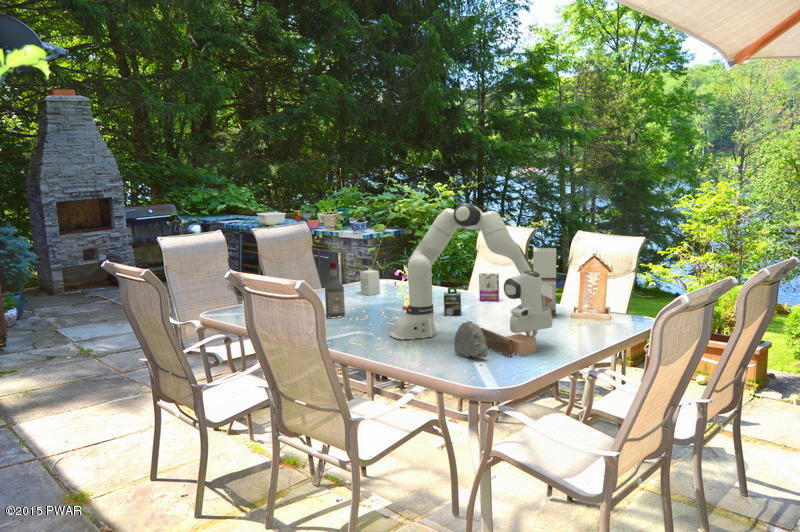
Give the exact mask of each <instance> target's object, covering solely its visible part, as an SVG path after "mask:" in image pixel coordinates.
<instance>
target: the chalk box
mask: <svg viewBox="0 0 800 532" xmlns="http://www.w3.org/2000/svg"><path fill="white" fill-rule="evenodd" d="M451 290H453V291H451ZM461 295H462V294H461V291H457V287H448V288H447V291H444V293H443V307H444V308H443V309H444V312H443V313H444V317H445V316H450V317H451V316H453V317H454V316H455V317H458V316H459V317H461V316H462V299H461V297H462V296H461Z"/></svg>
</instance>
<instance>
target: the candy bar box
mask: <svg viewBox="0 0 800 532" xmlns="http://www.w3.org/2000/svg"><path fill="white" fill-rule="evenodd" d="M478 282H479V286H478V288H479V289H478V290H479V302H485V301H498V302H499V301H500V272H499V273H497V272H496V273H495V272H491V273H489V272H485V273H484V272H483V273H482V272H480V273H479V274H478Z"/></svg>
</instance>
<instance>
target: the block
mask: <svg viewBox="0 0 800 532" xmlns="http://www.w3.org/2000/svg"><path fill="white" fill-rule="evenodd" d="M505 337H506V338H509V339H511V340H512V353H515V354H518V355H521V354H525V353H529V354H531V353H530V352H533V353H536V352H537V338H536V337H535V338H534V337H530V336H527V335H526V334H524V333H523V334H522V333H515V334H511V335H508V336H505ZM535 351H536V352H535ZM515 354H514V355H515ZM518 355H517V356H518ZM525 355H526V354H525ZM521 356H522V355H521Z"/></svg>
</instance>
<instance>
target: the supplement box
mask: <svg viewBox="0 0 800 532" xmlns="http://www.w3.org/2000/svg"><path fill="white" fill-rule="evenodd" d="M359 274H360V275H359V276H360V277H359V278H360V295H363V294H365V295H364V296H368V295H371V296H375V295H374V294H376V295H379V294H381V287H380V271H379V270H375V269H367V270H363V271H362V270H361V271H359Z"/></svg>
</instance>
